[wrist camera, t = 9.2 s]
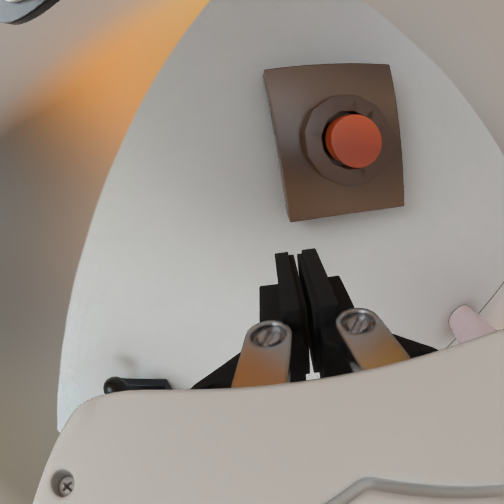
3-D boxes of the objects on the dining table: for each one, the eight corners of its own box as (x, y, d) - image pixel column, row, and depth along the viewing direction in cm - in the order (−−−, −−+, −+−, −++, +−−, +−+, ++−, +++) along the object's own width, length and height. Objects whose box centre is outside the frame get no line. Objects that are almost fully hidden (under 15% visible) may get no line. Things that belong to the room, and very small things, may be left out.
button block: (263, 75, 19) (264, 64, 16) (378, 68, 18) (399, 60, 15) (287, 214, 24) (292, 230, 20) (393, 199, 23) (414, 212, 20)
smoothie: (432, 333, 30) (480, 414, 17) (457, 292, 27) (519, 369, 15) (460, 336, 31) (505, 406, 18) (483, 299, 28) (539, 365, 15)
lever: (109, 372, 30) (95, 380, 26) (130, 373, 29) (116, 382, 26) (137, 455, 29) (127, 467, 25) (157, 458, 28) (148, 471, 25)
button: (321, 117, 17) (327, 116, 16) (369, 114, 17) (378, 113, 15) (328, 167, 19) (335, 170, 17) (374, 162, 19) (384, 165, 17)
